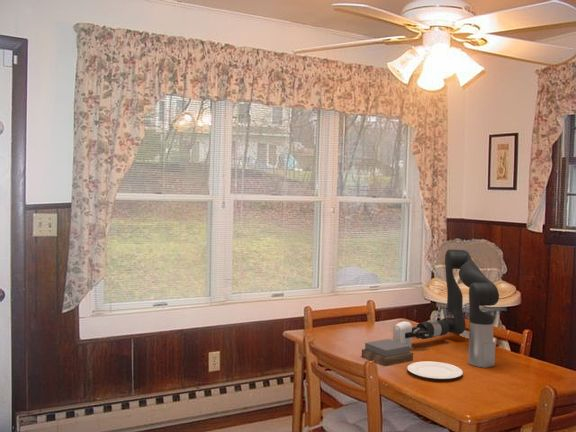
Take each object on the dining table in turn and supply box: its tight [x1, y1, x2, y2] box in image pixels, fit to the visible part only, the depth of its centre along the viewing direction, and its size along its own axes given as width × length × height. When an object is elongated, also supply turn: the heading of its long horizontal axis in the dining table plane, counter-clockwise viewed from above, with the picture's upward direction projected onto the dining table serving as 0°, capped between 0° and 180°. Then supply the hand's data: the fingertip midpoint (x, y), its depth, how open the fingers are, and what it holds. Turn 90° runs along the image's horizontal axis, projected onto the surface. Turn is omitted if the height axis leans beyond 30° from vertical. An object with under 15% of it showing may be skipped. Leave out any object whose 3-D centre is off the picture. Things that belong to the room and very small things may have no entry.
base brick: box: [361, 348, 414, 367], centre depth 233 cm, size 15×15×3 cm
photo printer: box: [392, 321, 413, 349], centre depth 247 cm, size 10×4×12 cm, turn 134°
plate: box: [406, 360, 464, 381], centre depth 214 cm, size 21×21×2 cm
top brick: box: [364, 338, 411, 358], centre depth 233 cm, size 13×13×3 cm
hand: (401, 334), depth 247 cm, fingers closed on photo printer, 5 cm apart
